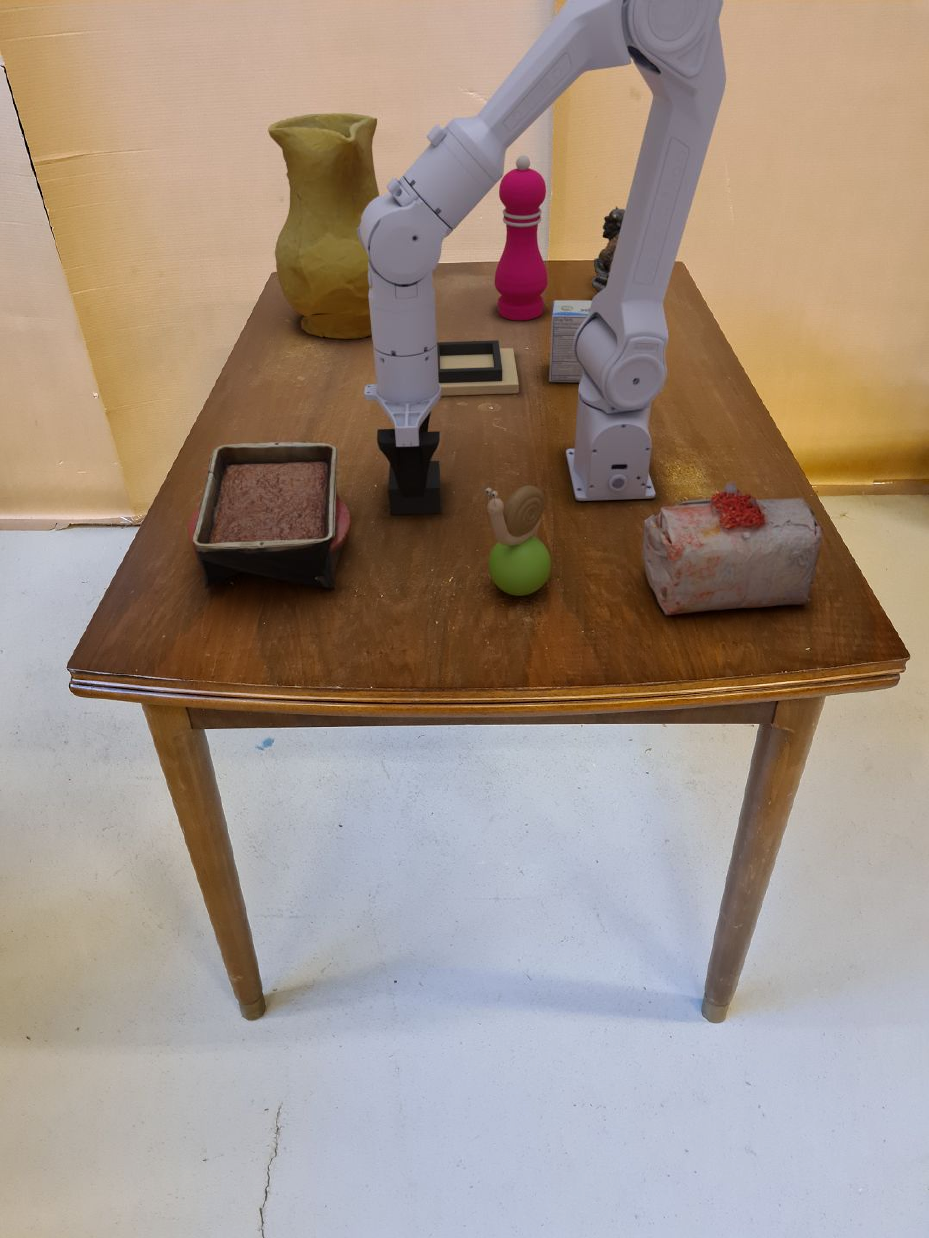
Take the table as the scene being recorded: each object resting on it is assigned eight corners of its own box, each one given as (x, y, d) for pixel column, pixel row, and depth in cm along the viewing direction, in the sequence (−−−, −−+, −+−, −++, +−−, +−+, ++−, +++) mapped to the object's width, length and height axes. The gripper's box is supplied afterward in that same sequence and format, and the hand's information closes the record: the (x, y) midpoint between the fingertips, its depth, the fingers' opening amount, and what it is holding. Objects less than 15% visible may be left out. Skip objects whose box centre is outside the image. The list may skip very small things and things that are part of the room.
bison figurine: (642, 308, 126) (650, 234, 120) (591, 308, 127) (596, 234, 120) (635, 276, 135) (642, 205, 128) (588, 276, 136) (592, 205, 129)
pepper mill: (487, 306, 128) (486, 151, 115) (535, 298, 130) (539, 145, 116) (504, 325, 123) (505, 166, 110) (554, 318, 124) (561, 160, 111)
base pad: (518, 393, 108) (519, 372, 106) (418, 397, 108) (416, 376, 106) (512, 356, 116) (513, 336, 114) (419, 360, 116) (417, 339, 114)
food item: (654, 626, 76) (669, 531, 70) (633, 568, 82) (645, 475, 76) (813, 615, 77) (842, 519, 70) (781, 558, 83) (805, 465, 76)
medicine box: (613, 368, 113) (619, 300, 107) (614, 385, 109) (620, 315, 103) (549, 367, 113) (552, 298, 108) (548, 383, 110) (551, 314, 104)
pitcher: (275, 348, 118) (248, 133, 103) (291, 299, 133) (270, 105, 117) (406, 347, 119) (399, 133, 103) (409, 299, 133) (402, 106, 118)
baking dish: (365, 520, 92) (348, 427, 87) (345, 613, 77) (324, 507, 72) (227, 533, 93) (202, 441, 88) (180, 627, 78) (147, 523, 73)
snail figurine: (468, 594, 80) (464, 478, 72) (517, 562, 83) (519, 448, 76) (512, 622, 77) (514, 504, 69) (562, 588, 80) (569, 472, 73)
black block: (440, 513, 90) (439, 486, 88) (390, 515, 90) (387, 488, 88) (440, 485, 93) (439, 459, 91) (391, 487, 93) (389, 460, 91)
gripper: (364, 311, 86) (376, 437, 95) (354, 381, 75) (369, 517, 84) (438, 309, 86) (443, 435, 95) (439, 379, 75) (445, 514, 84)
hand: (413, 474), depth 90 cm, fingers open, 7 cm apart
